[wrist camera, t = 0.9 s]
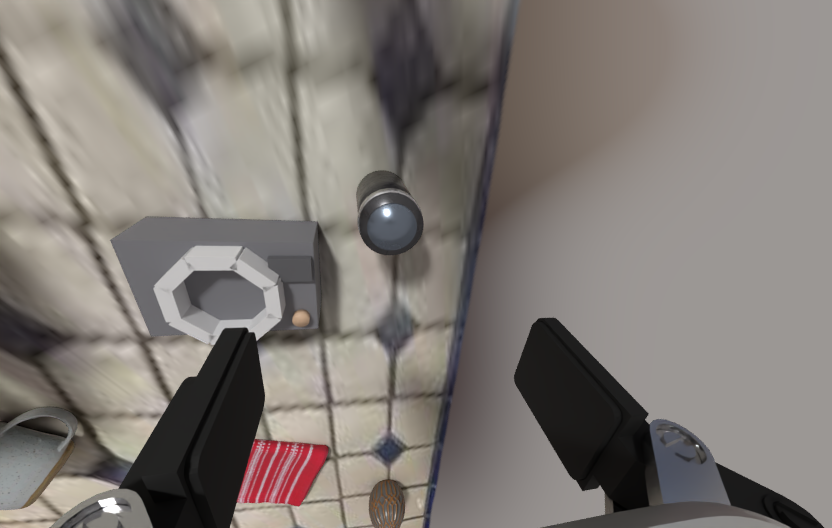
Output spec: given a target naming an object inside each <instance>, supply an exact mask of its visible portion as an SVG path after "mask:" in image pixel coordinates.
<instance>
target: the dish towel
mask: <svg viewBox="0 0 832 528" xmlns="http://www.w3.org/2000/svg"><path fill="white" fill-rule="evenodd" d="M327 454H328V447H327V446H326V445H314V444H305V443H297V442H282V441H272V440H259V439H254V443H253V446H252V450H251V453H250V457H249V460H248V464H247V467H246V471H245V475H244V478H243V482H242V485H241V489H240V492H239V496H238V499H237V502H238V503H262V502H269V503H278V504H279V503H284V504H291V505H294V506H300V505H301V502H303V500H304V498H305V497H306V495H307V493H308V491H309V489H310V487H311V485H312V482H313V480H314V479H315V477H316V475H317V474H318V472H319V470H320V469H321V467H322V466H323V464H324V462H325V460H326V457H327Z"/></svg>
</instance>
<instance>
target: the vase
mask: <svg viewBox="0 0 832 528" xmlns="http://www.w3.org/2000/svg"><path fill="white" fill-rule="evenodd" d="M404 513H405V501H404V496H403V492H402V490H401V488H400V486H399V485H398V484H397V483H396V482H394V481H393V480H383V481H380V482H379V483H377V484H376V485H375V487H374V488H373V490H372V492H371V495H370V499H369V514H370V518H371V521H372V524H373V526H374V527H375V528H400V526H401V523H402V521H403V518H404Z"/></svg>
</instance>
